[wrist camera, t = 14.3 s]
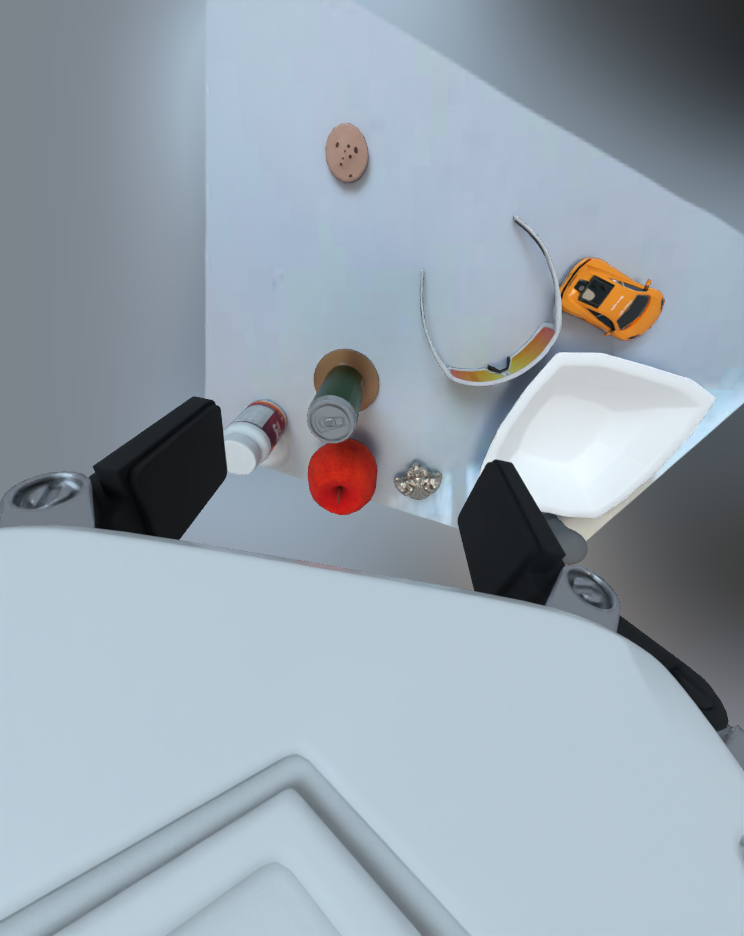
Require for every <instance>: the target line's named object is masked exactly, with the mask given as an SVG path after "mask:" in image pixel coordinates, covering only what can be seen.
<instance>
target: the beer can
mask: <svg viewBox="0 0 744 936" xmlns="http://www.w3.org/2000/svg"><path fill="white" fill-rule="evenodd" d="M363 392H364V380H363V378H362V376H361V374H360V373H359V372H358V371H357V370H356V369H354V368H353V367H350V366H347V365H339V366H336V367H334V368H333V369H331V370H330V371H329V373H328V374H327V376H326V378H325V379H324V381H323V383H322V385H321V387H320V388H319V390H318V392H317V394H316V396H315V397H314V399H313V401H312V403H311V404H310V406H309V408H308V413H307V422H308V427H309V429H310V431H311V433H312V434H313V435H314V436H315V437H316V438H318V439H320V440H321V441H324V442H327V443H339V442H342V441H344V440H346V439H347V438H348V437H349V436H350V435H351V434H352V432H353V431H354V430H355V427H356V424H357V420H358V415H359V411H360V406H361V402H362V397H363Z"/></svg>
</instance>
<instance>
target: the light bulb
mask: <svg viewBox="0 0 744 936" xmlns="http://www.w3.org/2000/svg"><path fill="white" fill-rule="evenodd" d="M543 516H544V518H545V519H546V521H547V523H548V525H549V526H550V528H551V530H552V531H553V533H554V535H555V537H556V538H557V540H558V542H559V543H560V545H561V547H562V549H563V550H564V552H565V554H566V556H565V557H564V558H563V559H562V560H563V562H564V564H568V565H569V564H576V563H579V562H581V561H582V560H583V559H584V558H585V556H586V554H587V544H586V541H585V540H584V538H583V537H582V536H581V535H580V534H579V533H577V532H575V531H573V530H571V529H569V528H567V527H566V526H565V525H564V524H563V523H562V521H560V520H559V519H558V518H557V516H556V515H555V514H552V513H545V514H544V515H543Z"/></svg>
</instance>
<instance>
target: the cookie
mask: <svg viewBox="0 0 744 936" xmlns="http://www.w3.org/2000/svg"><path fill="white" fill-rule="evenodd" d="M325 149H326V161H327V163H328V166H329V169H330V171H331V172H332V173H333V175H334V176H335V177H336V178H337V179H339V180H340V181H342V182H353V181H355V180H357V179H359V178H360V177H361V175H362V174H363V172H364V171H365V168H366V165H367V162H368V148H367V144H366V141H365V138H364V136H363V135H362V133H361V132H360V131H359V129H358V128H356V127H355V126H353V125H351V124H340V125H338V126H337V127H335V128H333V130H332V132H331V133H330V135H329V136H328V139H327V143H326V148H325Z"/></svg>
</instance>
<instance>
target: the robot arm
mask: <svg viewBox="0 0 744 936" xmlns="http://www.w3.org/2000/svg"><path fill="white" fill-rule="evenodd" d="M93 468H94V470H95V473H94V474H92V475H91V476H90V477H87V476H85V475H84V474H81V473H77V472H66V471H62V472H52V473H47V474H42V475H38V476H35V477H32V478H30V479H27V480H24V481H22V482H20V483H18V484H17V485H15V486H13V487H12V488H11V489H9V490H8V491H7V492H6V493H5V494H4V496H3V498H2V499H1V503H0V936H744V730H743V729H742V728H741V727H740V726H739V725H737V726H734V727H731V726H730V725H729V724H728V717H727V713H726V710H725V708H724V706H723V704H722V702H721V700H720V699H719V698H718V696H717V695H716V693H715V692H714V691H713V689H712V688H711V686H710V685H709V684H708V683H707V682H706V681H705V680H704V679H703V678H702V677H701V676H700V675H698V674H697V673H696V672H695V671H693V670H692V669H691V668H690V667H688V666H687V665H686V664H684V663H683V662H682V661H680V660H679V659H678V658H676V657H675V656H674V655H672V654H671V653H670V652H668V651H667V650H666V649H664V648H663V647H662V646H660V645H659V644H658V643H656V642H655V641H653V640H652V639H651V638H649V637H648V636H647V635H645V634H644V633H643V632H641V631H640V630H639V629H637V628H636V627H635V626H633V625H632V624H631V623H629V622H628V621H627V620H625V619H624V618H622V617H621V616H620V609H621V608H620V601H619V599H618V597H617V594H616V593H615V592H614V590H613V589H612V588H611V586H610V585H608V583H607V582H606V581H605V580H604V579H602V578H601V577H600V576H598V575H597V574H596V573H594V572H593V571H591V570H589V569H587V568H585V567H582V566H579V565H574V564H569V565H565V564H564V562H563V560H562V559H563V558H564V557H565V556H566V554H565V552H564V550H563V549H562V547H561V545H560V543H559V542H558V540H557V538H556V537H555V535H554V533H553V531H552V530H551V528H550V526H549V525H548V523H547V521H546V519H545V518H544V516H543V514H542V513H541V511H540V509H539V507H538V506H537V504H536V502H535V501H534V499H533V497H532V495H531V494H530V492H529V490H528V489H527V487H526V485H525V483H524V482H523V480H522V478H521V477H520V475H519V473H518V471H517V470H516V468H515V466H514V465H513V463H511V462H507V461H502V460H497V459H495V460H493V461H492V462H488V463H487V464H486V465H485V467H484V469H483V471H482V473H481V475H480V476H479V478H478V480H477V482H476V484H475V486H474V488H473V490H472V491H471V493H470V495H469V497H468V499H467V501H466V503H465V504H464V506H463V508H462V510H461V512H460V514H459V517H458V526H459V530H460V534H461V538H462V542H463V547H464V551H465V554H466V559H467V562H468V567H469V571H470V575H471V579H472V583H473V587H474V591H471V590H465V589H460V588H454V587H448V586H443V585H437V584H432V583H426V582H420V581H415V580H409V579H404V578H398V577H392V576H387V575H381V574H376V573H370V572H364V571H358V570H353V569H347V568H341V567H335V566H330V565H324V564H318V563H311V562H306V561H300V560H295V559H289V558H283V557H277V556H271V555H265V554H260V553H253V552H248V551H242V550H235V549H229V548H224V547H218V546H212V545H206V544H200V543H193V542H188V541H181V540H179V539H180V538H181V537H182V535H183V534H184V533H185V532H186V530H187V529H188V528H189V526H190V525H191V524H192V522H193V521H194V520H195V518H196V517H197V516H198V514H199V513H200V512H201V510H202V509H203V508H204V506H205V505H206V504H207V502H208V501H209V500H210V498H211V497H212V496H213V494H214V493H215V492H216V490H217V489H218V488H219V486H220V485H221V484H222V483H223V481H224V480H225V478H226V475H227V462H226V453H225V444H224V435H223V426H222V417H221V409H220V407H219V406H217V405H216V404H215V402H214V401H213V400H209V399H205V398H200V397H192V398H190V399H189V400H187V401H186V402H185V403H183V404H182V405H180V406H179V407H177V408H176V409H174V410H173V411H172V412H170V413H169V414H167V415H166V416H164V417H163V418H162V419H160V420H159V421H157V422H156V423H154V424H153V425H151V426H150V427H149V428H147V429H146V430H144V431H143V432H141V433H140V434H138V435H137V436H136V437H134V438H133V439H131V440H130V441H128V442H127V443H126V444H124V445H123V446H121V447H120V448H118V449H117V450H116V451H114V452H113V453H111V454H110V455H108V456H107V457H105V458H104V459H103V460H101V461H100V462H98V463H97V464H96V465H94V466H93Z"/></svg>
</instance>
